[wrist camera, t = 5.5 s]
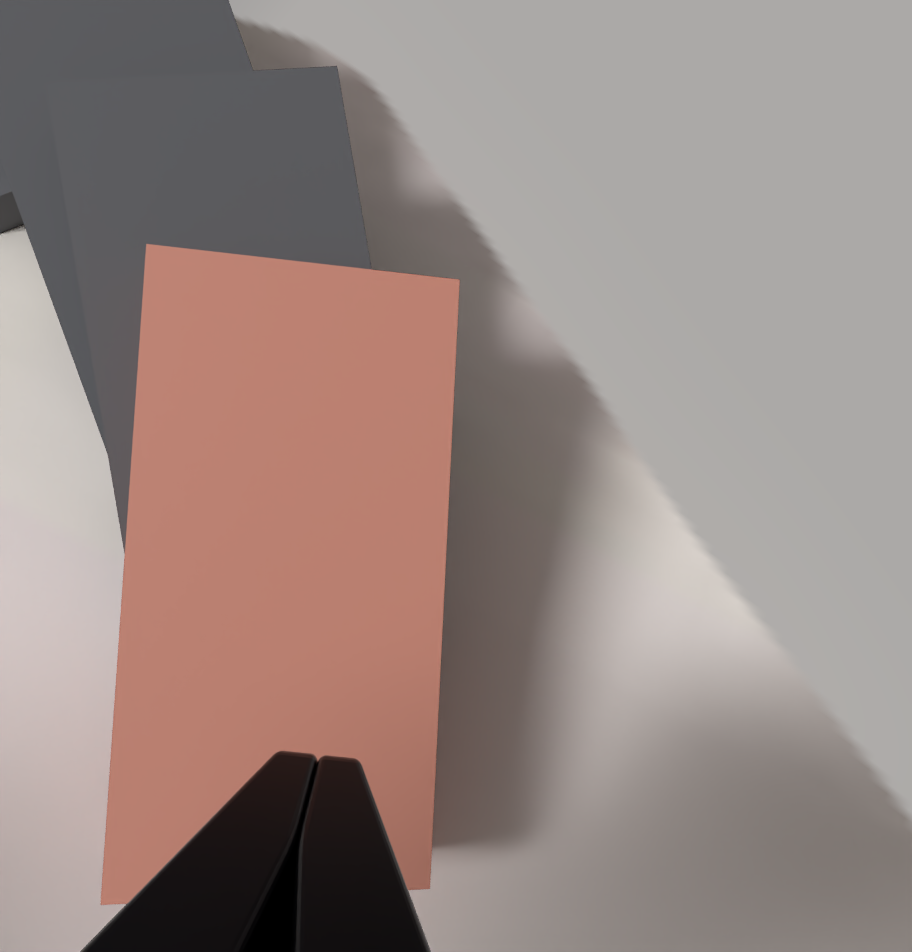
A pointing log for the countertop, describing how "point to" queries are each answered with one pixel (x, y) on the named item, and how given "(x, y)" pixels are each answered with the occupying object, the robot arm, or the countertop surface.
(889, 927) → the countertop surface
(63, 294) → the domino
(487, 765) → the countertop surface
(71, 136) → the domino
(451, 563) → the countertop surface
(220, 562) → the domino
